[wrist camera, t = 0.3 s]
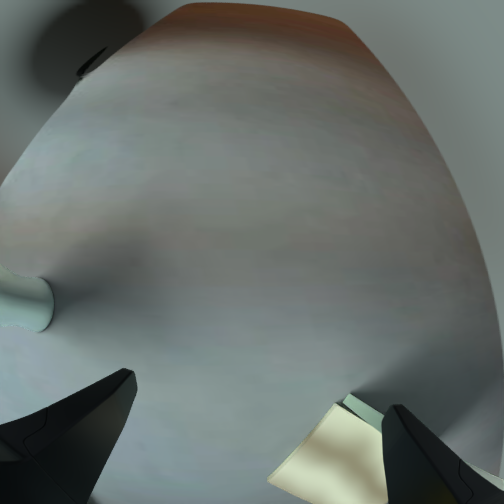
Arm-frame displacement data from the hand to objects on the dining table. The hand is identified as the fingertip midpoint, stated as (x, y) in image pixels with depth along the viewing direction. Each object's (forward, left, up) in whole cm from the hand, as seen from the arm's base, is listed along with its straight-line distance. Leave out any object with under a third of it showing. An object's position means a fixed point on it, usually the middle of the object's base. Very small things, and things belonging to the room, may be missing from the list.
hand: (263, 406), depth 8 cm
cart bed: (-14, -3, -15) cm, 21 cm away
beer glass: (+13, +21, -15) cm, 29 cm away
